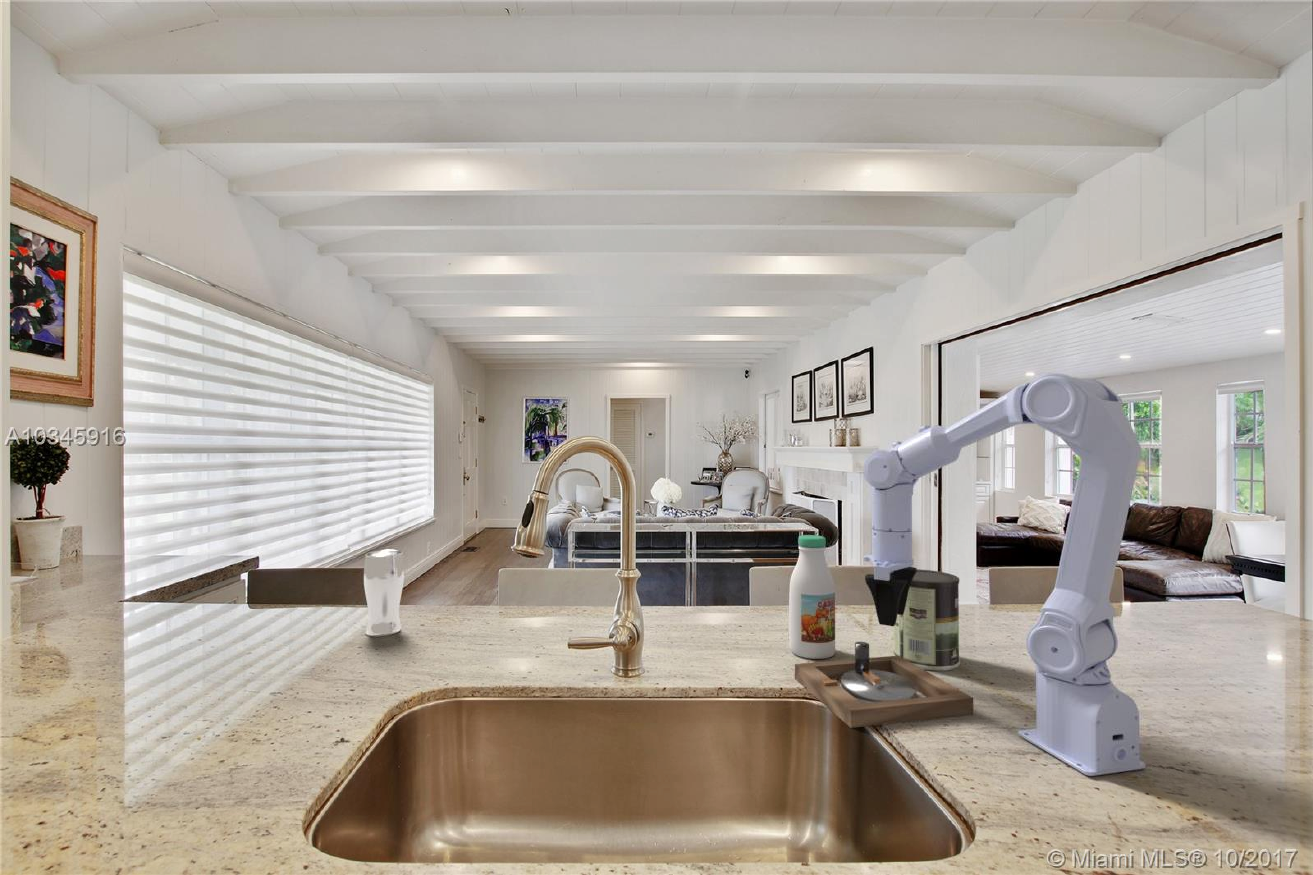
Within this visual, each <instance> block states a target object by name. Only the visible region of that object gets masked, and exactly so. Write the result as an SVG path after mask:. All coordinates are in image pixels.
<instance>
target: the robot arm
mask: <svg viewBox="0 0 1313 875" xmlns="http://www.w3.org/2000/svg"><path fill="white" fill-rule="evenodd" d="M1123 406H1124V405H1123V399H1122V398H1121V396H1119V395H1118V394H1117V393H1116V392H1114V391H1113V390H1112V389H1111V388H1109V386H1107V385H1105V383H1103V382H1101V381H1100V380H1097V379H1095V378H1089V377H1076V376H1070V375H1068V374H1064V373H1059V372H1053V373H1045V374H1044V375H1040V376H1038V377H1036V378H1035V379H1034V380H1032V381H1031V382H1026V383H1023V384H1021V385H1018V386H1015V387H1014V388H1013V389H1011V390H1010V391H1009V392H1007V393H1006V394H1004V395H1002V396H1000V397H999V398H997V399H996V400H993V401H991V402H990V403H989V404H987V405H985V406H983V407H982V408H980V409H979V410H976V411H974V412H972V413H971V414H969V415H967V416H966V417H964V418H962V419H961V420H960V421H957V422H955V423H954V424H952V425H950V426H949V427H947V428H946V427H945V426H944V427H943V426H941V425H938V424H937V425H932V426H931V425H922V426H921V427H919V428H918V433H917V434H915V435H913V436H912V437H909V438H908V439H905V440H904V441H895V442H894V443H892V445H891V446H892V447H891V449H890V450H887V449H875V450H874V451H872V453H871V454H869V455H868V456H867V458H865V460H864V463H863V475H864V478H865V480H866V482H867V483H868V484H869V485H870V486H871V487H870V488H871V554H865V555H864V556H863V562H870V563H871V565H872V567H873V573H874V574H872V573H867V574H866V575H864V582H865V583H866V585H867V587H868V589H869V591H870V593H871V594H870V595H871V596H872V599H873V602H874V606H875V612H876V616H877V621H878V623H879V625H882V626H889V627H893V626H895V623H896V620H897V614H899V615H903V614H904V611H905V607H906V602H907V597H908V592H909V588H910V585H911V582H912V580H913V578H914V576H915V574H916V572H917V567H914V559H913V503H912V502H913V495H914V487H915V485H916V484H917V482H918V481H919V479H920V478H922V477H924V476H926V475H929V474H931V473H933V472H936V471H937V470H939V469H942V468H943V467H946V466H948V465H950V464H953V463H954V462H957V460H958V458H959V457H960V454H961V451H962V449H963V448H966V447H968V446H969V445H972V444H975V443H977V442H979V441H982V440H983V439H986V438H988V437H991V436H993V435H995V434H998V433H1000V432H1002V431H1004V430H1008V429H1010V428H1012V427H1014V426H1016V425H1037V426H1038V427H1040V428H1042V429H1044V430H1046V431H1048V432H1049V433H1052V434H1053V435H1055V436H1057V437H1059V438H1060V439H1061V440H1062V441H1063V442H1064V443H1065V444H1066V445H1067V446H1068V447H1069V449H1071V450H1072V451H1073V453H1074V454H1076V455H1077V456H1078V457H1079V459H1080V464H1079V468H1078V473H1077V478H1076V483H1075V488H1074V492H1073V497H1072V502H1071V507H1070V511H1069V516H1068V521H1067V527H1066V531H1065V536H1064V539H1063V540H1064V542H1063V546H1062V550H1061V555H1060V560H1059V566H1058V570H1057V576H1056V580H1055V585H1054V589H1053V590H1052V592H1051V594H1049V596H1048V598H1047V599H1046V601H1045V603H1044V604H1043V605H1042V608H1041V611H1040V616H1039V618H1038V620H1037V621H1036V623H1035V624H1034V625H1033V626H1032V627H1030V629H1029V630H1028V632H1027V634H1026V637H1025V645H1026V649H1027V653H1028V655H1029V657H1030V658H1031V660H1032V661H1033V663H1034V664H1035V710H1036V711H1035V712H1036V713H1035V726H1036V727H1035V728H1029V729H1022V730H1018V735H1019V736H1020V737H1021V738H1023V739H1024V740H1026V741H1028V742H1029V743H1031V744H1033V745H1035V746H1036V747H1038V748H1040V749H1042V750H1043V751H1045V752H1047V753H1048V754H1050V755H1051V756H1053V757H1054V758H1057V759H1058V760H1060V761H1062V762H1063V763H1065V764H1066V765H1069V766H1071V767H1072V768H1073V769H1075V770H1076V771H1078V772H1080V773H1082V774H1083V775H1086V776H1089V777H1092V776H1093V777H1094V776H1101V775H1108V774H1113V773H1114V774H1116V773H1120V772H1127V771H1128V772H1129V771H1134V770H1142V769H1145V768H1146V763H1145V762H1143V761H1141V760H1140V758H1141V756H1140V754H1141V752H1140V747H1141V746H1140V713H1139V709H1138V706H1137V704H1136V702H1135V701H1134V699H1133V698H1132V697H1130V695H1127V693H1125V692H1123V691H1122V690H1120V689H1118V688H1117V687H1116V686H1115V684H1114V683H1113V682H1112V680H1111V675H1112V674H1111V671H1110V669H1109V667H1108V664H1107V661H1108V660H1110V659H1111V658H1113V656H1114V655H1115V654H1116V651H1117V649H1118V645H1119V642H1118V636H1117V633H1116V630H1115V628H1114V617H1115V609H1114V608H1115V607H1114V606H1113V604H1112V603H1111V601H1110V596H1111V591H1112V586H1113V582H1114V579H1115V578H1114V577H1115V572H1116V568H1117V564H1118V559H1119V555H1120V550H1121V549H1120V548H1121V546H1122V545H1121V544H1122V541H1123V538H1124V537H1123V536H1124V531H1125V527H1126V523H1127V519H1128V518H1127V517H1128V513H1129V508H1130V504H1131V499H1132V495H1133V490H1134V486H1135V481H1136V477H1137V472H1138V467H1139V463H1140V459H1141V454H1142V452H1141V450H1142V449H1141V444H1140V442H1139V440H1138V437H1137V435H1136V434H1135V431H1134V429H1133V428H1132V426H1131V423H1130V421H1129V419H1128V417H1127V415H1126V413H1125V411H1124V407H1123Z"/></svg>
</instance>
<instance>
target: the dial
mask: <svg viewBox="0 0 1313 875" xmlns="http://www.w3.org/2000/svg"><path fill="white" fill-rule="evenodd" d="M869 658H870V643H868V642H866V641H856V642H855V643H854V659H855V670H852V671H848V672H846V673H844V674H843V675H842V677H841V679H840V687H841V688H843V689H844V690H845V691H847V692H848V693H849V694H850V695H852V696H853V697H854V698H856V699H857V700H858V701H859V702H861V703H872V702H882V701H892V700H902V699H912V698H917V690H916V687H915V685H914V684H913V683H912V682H911V681H910V680H908V679H906V678H905V677H902V676H900V675H897V674H894V673H890V672H886V671H881V670H872V669H869Z"/></svg>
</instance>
